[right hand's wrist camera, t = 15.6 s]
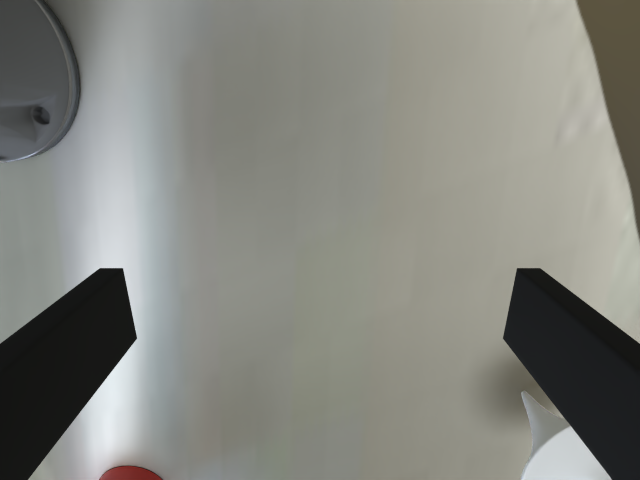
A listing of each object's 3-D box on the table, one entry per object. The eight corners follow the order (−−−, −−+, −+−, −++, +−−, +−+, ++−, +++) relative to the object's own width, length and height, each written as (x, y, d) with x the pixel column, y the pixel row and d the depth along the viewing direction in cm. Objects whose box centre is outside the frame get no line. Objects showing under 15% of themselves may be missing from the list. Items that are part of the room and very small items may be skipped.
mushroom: (579, 354, 41) (678, 450, 30) (554, 428, 45) (633, 539, 33) (485, 351, 41) (549, 447, 29) (468, 426, 44) (518, 537, 33)
